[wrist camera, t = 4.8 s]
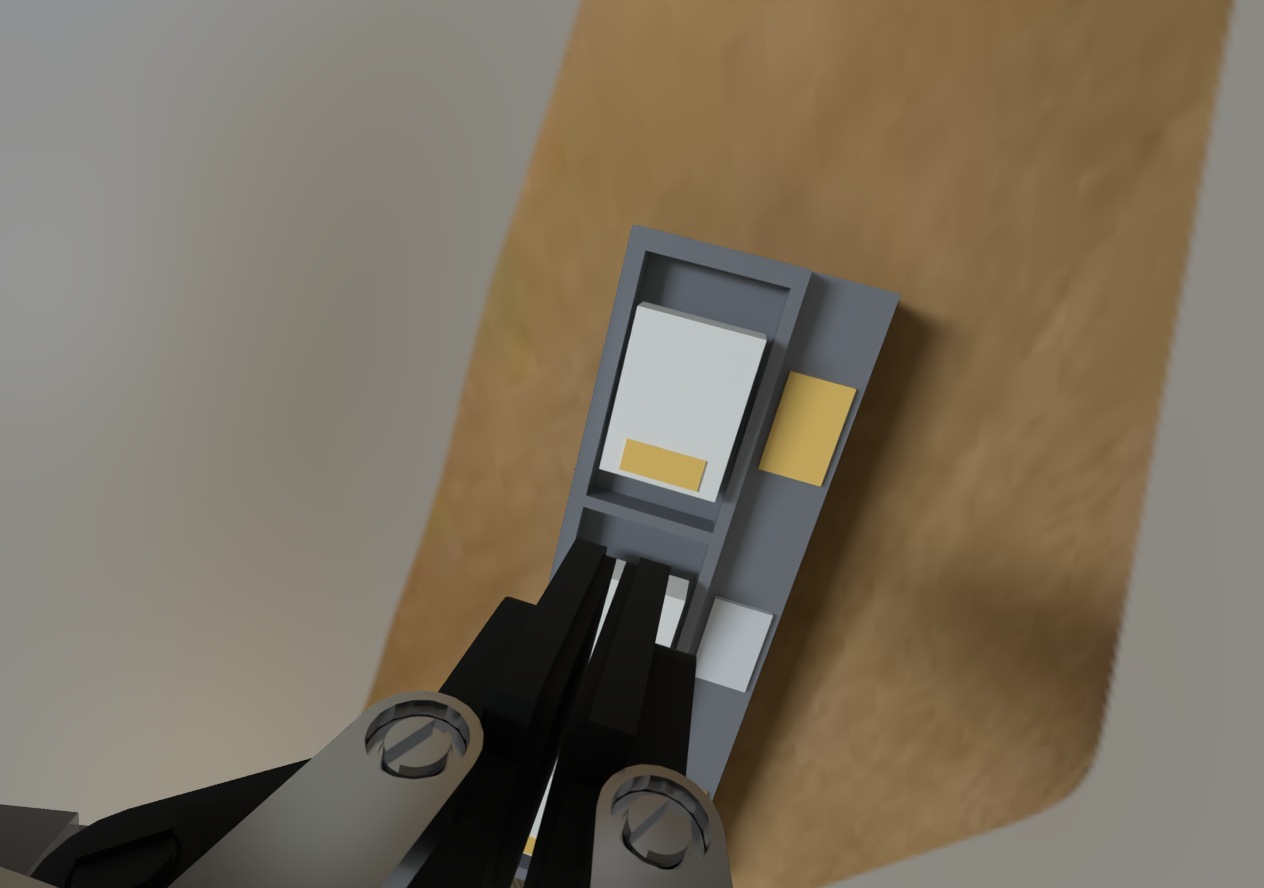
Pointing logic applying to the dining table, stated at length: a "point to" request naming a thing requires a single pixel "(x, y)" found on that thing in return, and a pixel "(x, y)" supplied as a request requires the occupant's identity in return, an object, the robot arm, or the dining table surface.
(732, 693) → the switch unit
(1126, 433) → the dining table surface
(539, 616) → the robot arm
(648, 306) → the plate
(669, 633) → the block
